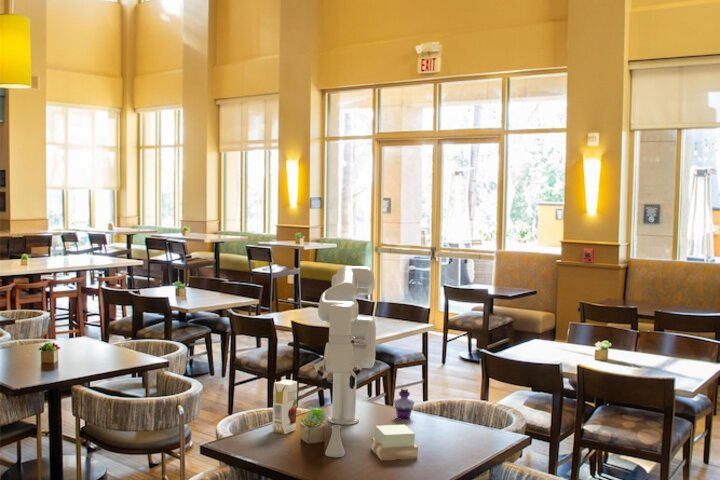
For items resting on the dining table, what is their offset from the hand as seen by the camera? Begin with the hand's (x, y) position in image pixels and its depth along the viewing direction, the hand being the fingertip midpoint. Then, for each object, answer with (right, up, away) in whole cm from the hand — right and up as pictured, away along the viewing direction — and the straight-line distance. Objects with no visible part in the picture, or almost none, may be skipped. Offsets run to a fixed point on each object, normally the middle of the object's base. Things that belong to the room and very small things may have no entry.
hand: (338, 388), depth 255 cm
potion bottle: (+26, -23, +51) cm, 61 cm away
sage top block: (+20, -20, +5) cm, 28 cm away
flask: (-1, -24, +1) cm, 24 cm away
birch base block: (+20, -24, +5) cm, 32 cm away
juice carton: (-22, -22, +26) cm, 40 cm away
